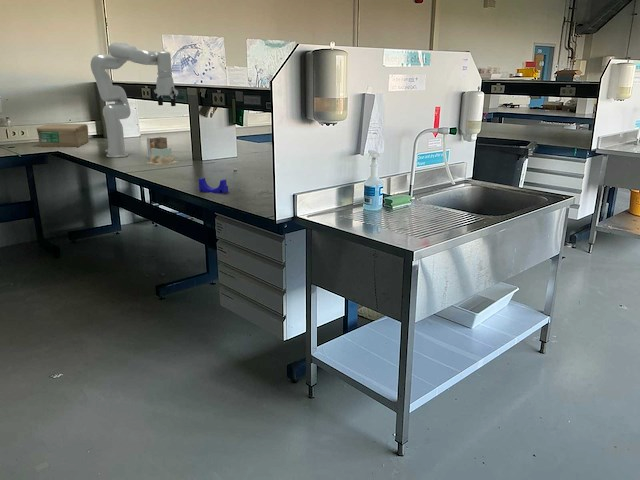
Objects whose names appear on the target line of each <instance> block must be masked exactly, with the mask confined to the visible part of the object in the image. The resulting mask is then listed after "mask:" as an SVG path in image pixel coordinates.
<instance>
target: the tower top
mask: <svg viewBox="0 0 640 480" xmlns="http://www.w3.org/2000/svg"><path fill="white" fill-rule="evenodd" d="M172 150H173V149H172V147H167V148H165V149H155V148H152V149H151V155H152V156H160V157H164V156H169V155H173V153H172Z"/></svg>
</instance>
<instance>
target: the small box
mask: <svg viewBox="0 0 640 480" xmlns="http://www.w3.org/2000/svg"><path fill="white" fill-rule="evenodd" d="M157 137H158V136H149V137H148V136H146V147H147V158H148V159H150V156H151V149H152V148H155V147H154V138H157Z"/></svg>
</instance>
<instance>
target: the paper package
mask: <svg viewBox="0 0 640 480" xmlns="http://www.w3.org/2000/svg"><path fill="white" fill-rule="evenodd" d="M36 131H37V136H38V144H39V145H38V146H39V148H67V147H68V148H70V147H76V148H77V147H81V146H83V145H86V144H88V143H89V128H88V124H86V123H47V124H44V125H41V126H38V127H36Z"/></svg>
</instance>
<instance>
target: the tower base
mask: <svg viewBox="0 0 640 480" xmlns="http://www.w3.org/2000/svg"><path fill="white" fill-rule="evenodd" d="M149 159H150V162H151V163H159V164H165V163H170V162H174V161H175V160H174V154H172V155H169V156H164V157H160V156H152V155H151V156H150V158H149Z"/></svg>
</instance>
